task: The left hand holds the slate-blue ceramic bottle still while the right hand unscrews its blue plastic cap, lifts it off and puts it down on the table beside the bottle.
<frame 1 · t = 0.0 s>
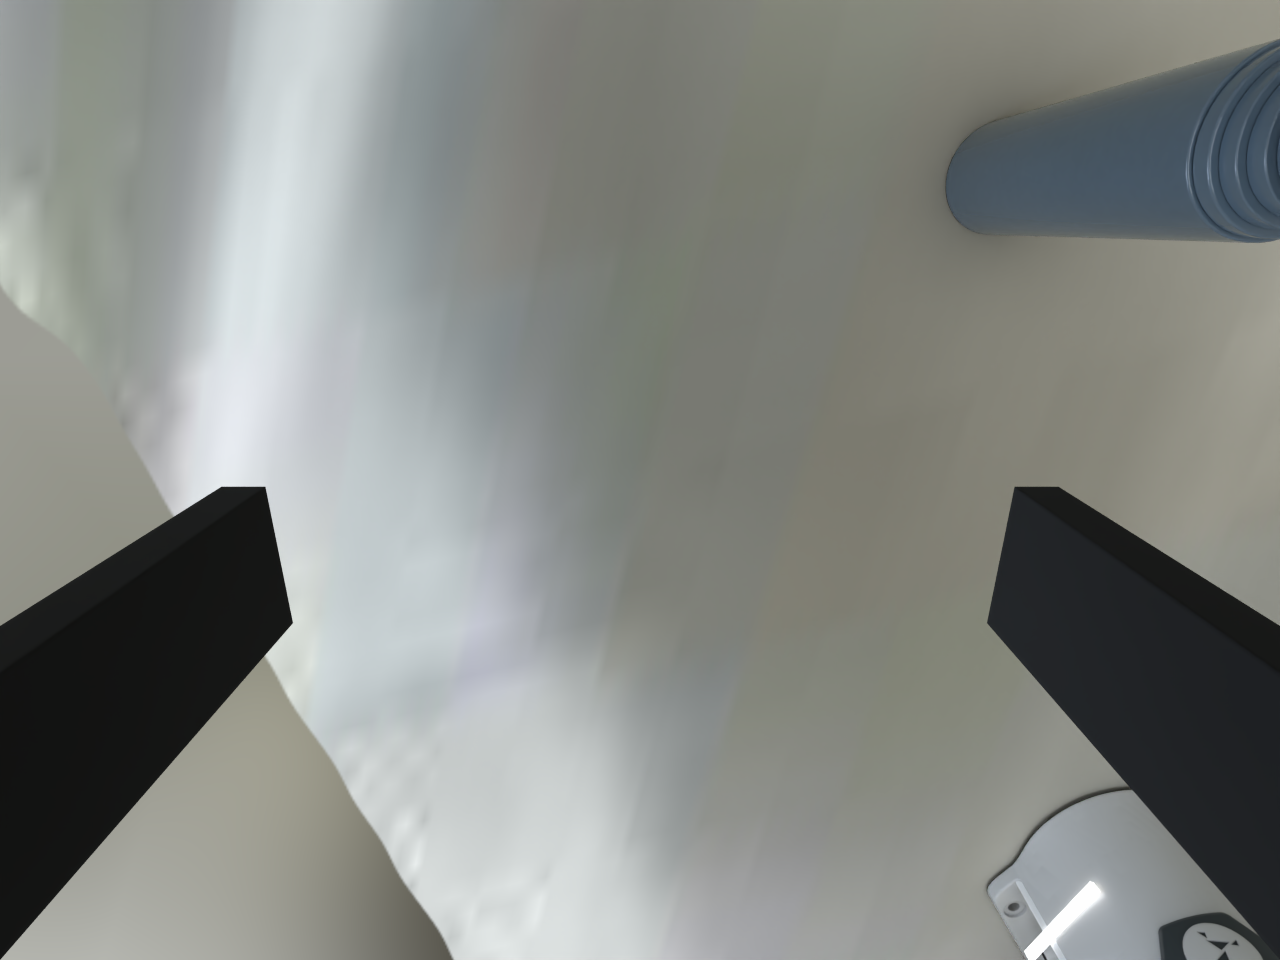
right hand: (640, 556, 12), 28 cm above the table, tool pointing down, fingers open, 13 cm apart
bottle: (999, 178, 36), on the table
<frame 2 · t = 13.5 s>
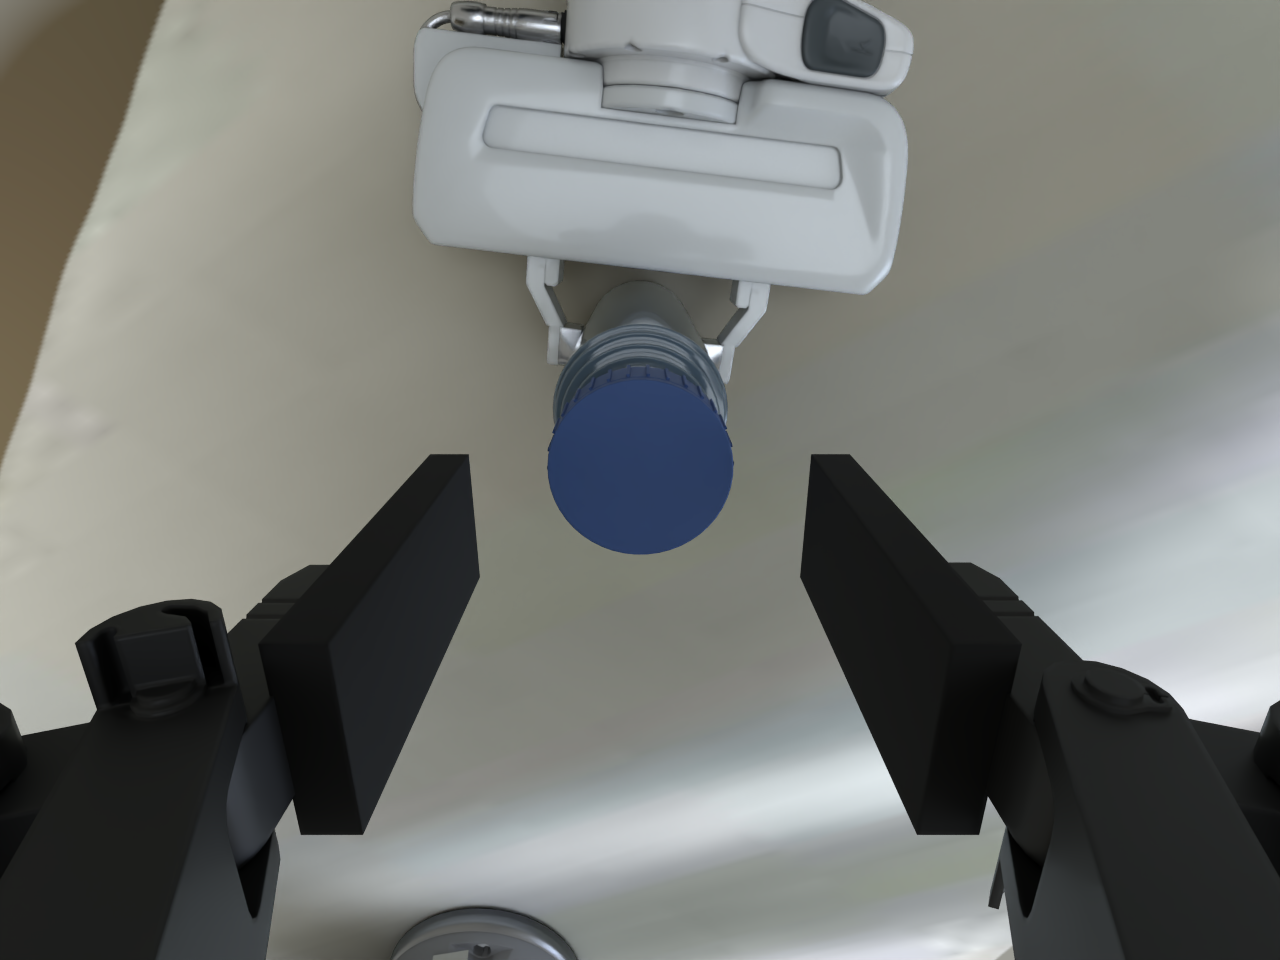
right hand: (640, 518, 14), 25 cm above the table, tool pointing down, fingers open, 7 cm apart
bottle: (640, 333, 38), on the table, touching left hand
cap: (640, 467, 17), point 22 cm above the table, screwed on, not yet turned
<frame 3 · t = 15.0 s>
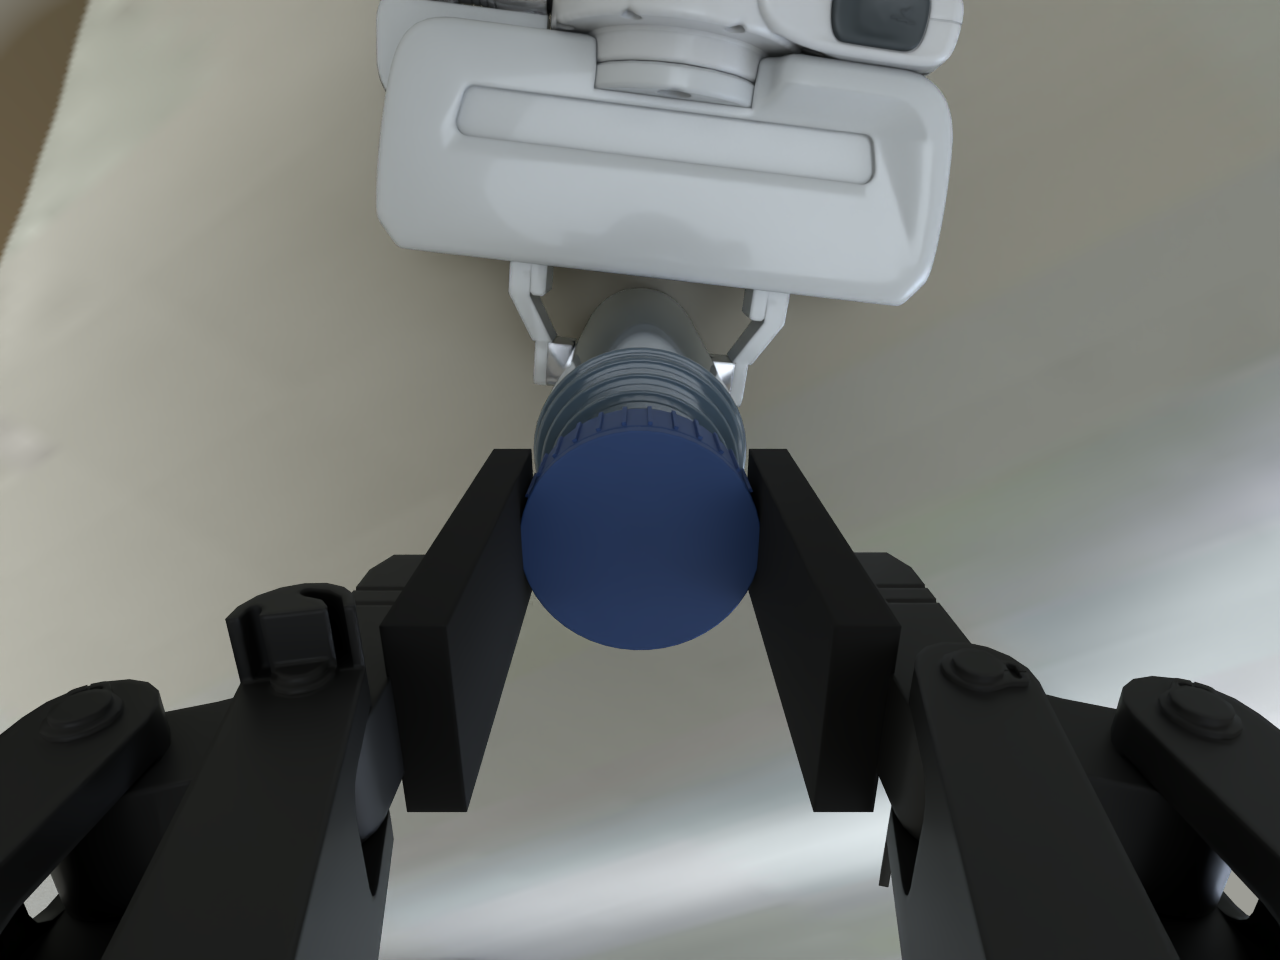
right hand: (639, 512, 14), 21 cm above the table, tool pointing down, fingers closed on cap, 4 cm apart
bottle: (639, 345, 34), on the table, touching left hand
cap: (640, 540, 13), point 22 cm above the table, screwed on, not yet turned, touching right hand
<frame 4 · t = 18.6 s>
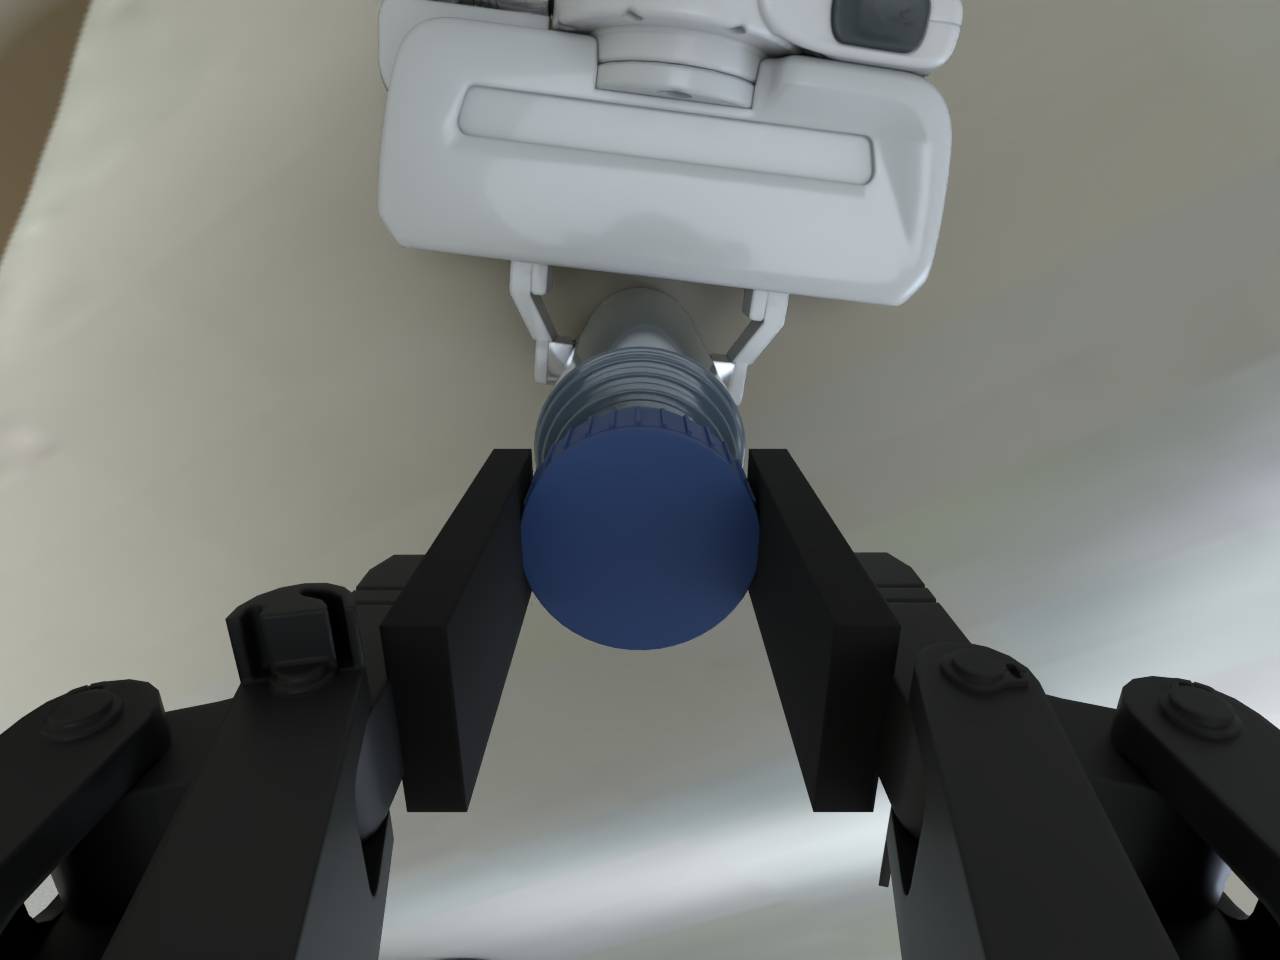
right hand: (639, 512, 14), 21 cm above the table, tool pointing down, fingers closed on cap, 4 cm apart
bottle: (639, 345, 34), on the table, touching left hand
cap: (639, 540, 13), point 22 cm above the table, turned 126° so far, risen 0.1 cm, still on its thread, touching right hand
when the right hand's fingers open (1 cm above the table, at t = 34.7 s): cap stays where it is, point 1 cm above the table.
when the left hand's fingers open (6 cm above the table, at t = 36.0 s): bottle stays where it is, on the table.
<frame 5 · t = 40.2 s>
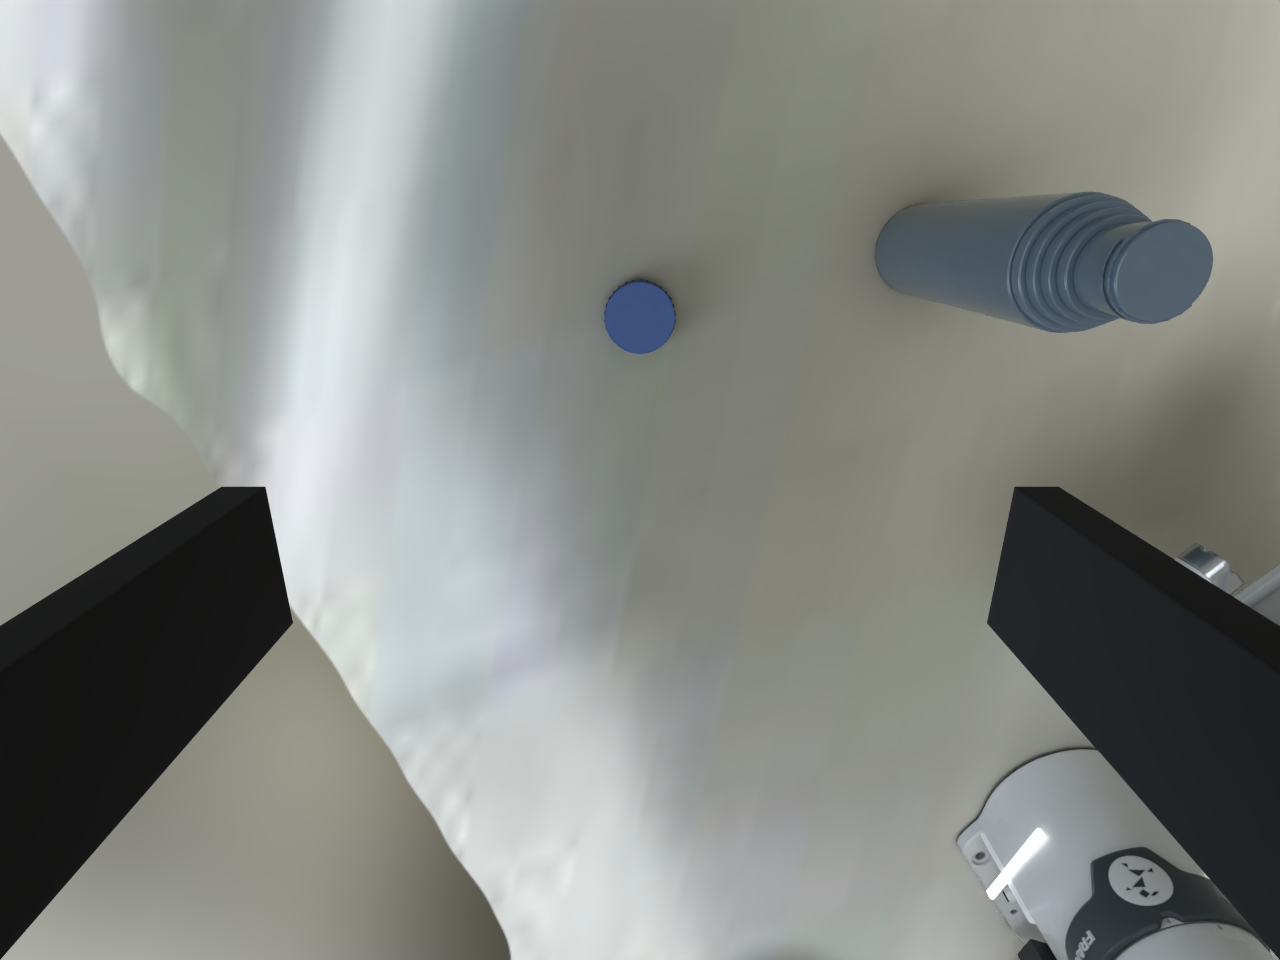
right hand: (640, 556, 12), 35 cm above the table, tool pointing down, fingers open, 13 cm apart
bottle: (918, 249, 44), on the table
cap: (639, 317, 44), point 1 cm above the table, off its thread
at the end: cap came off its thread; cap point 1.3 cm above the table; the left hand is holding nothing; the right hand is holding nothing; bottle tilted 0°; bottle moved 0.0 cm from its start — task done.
